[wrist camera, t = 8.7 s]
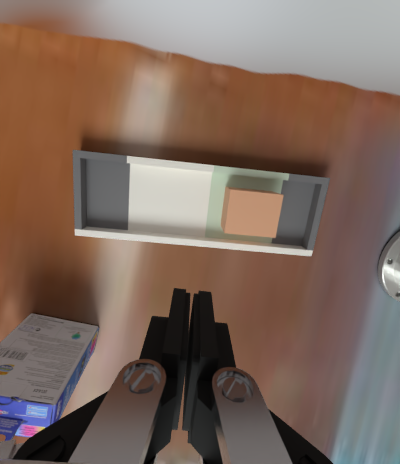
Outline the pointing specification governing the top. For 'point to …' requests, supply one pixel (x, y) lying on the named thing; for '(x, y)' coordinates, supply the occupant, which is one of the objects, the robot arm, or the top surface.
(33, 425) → the ink cartridge box
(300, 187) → the track
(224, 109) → the top surface
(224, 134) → the top surface
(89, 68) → the top surface
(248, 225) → the terracotta block
